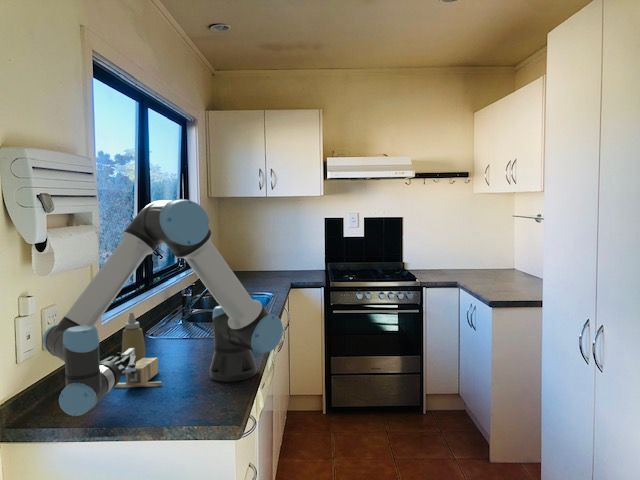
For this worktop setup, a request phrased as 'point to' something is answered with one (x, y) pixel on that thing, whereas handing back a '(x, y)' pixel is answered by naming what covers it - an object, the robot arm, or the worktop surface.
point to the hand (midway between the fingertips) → (132, 352)
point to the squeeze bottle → (133, 338)
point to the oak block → (143, 371)
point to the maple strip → (147, 384)
